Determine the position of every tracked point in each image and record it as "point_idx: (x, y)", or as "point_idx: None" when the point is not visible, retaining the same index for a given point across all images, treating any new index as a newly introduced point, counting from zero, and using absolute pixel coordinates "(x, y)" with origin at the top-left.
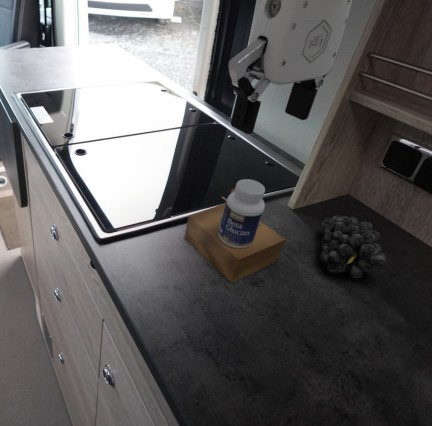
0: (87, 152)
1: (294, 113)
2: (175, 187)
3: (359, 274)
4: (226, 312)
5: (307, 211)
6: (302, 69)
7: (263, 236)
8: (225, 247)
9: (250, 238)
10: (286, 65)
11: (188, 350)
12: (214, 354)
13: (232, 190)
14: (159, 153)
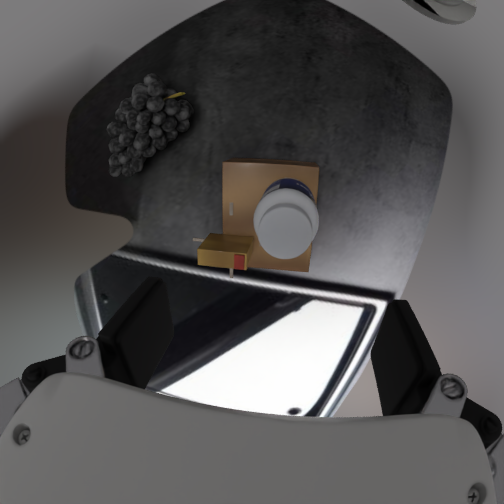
0: (287, 409)
1: (166, 313)
2: (241, 329)
3: (171, 89)
4: (355, 135)
5: (122, 209)
6: (310, 481)
7: (247, 182)
8: (316, 195)
9: (290, 180)
10: (458, 491)
11: (420, 130)
12: (402, 110)
13: (246, 268)
14: (213, 378)
